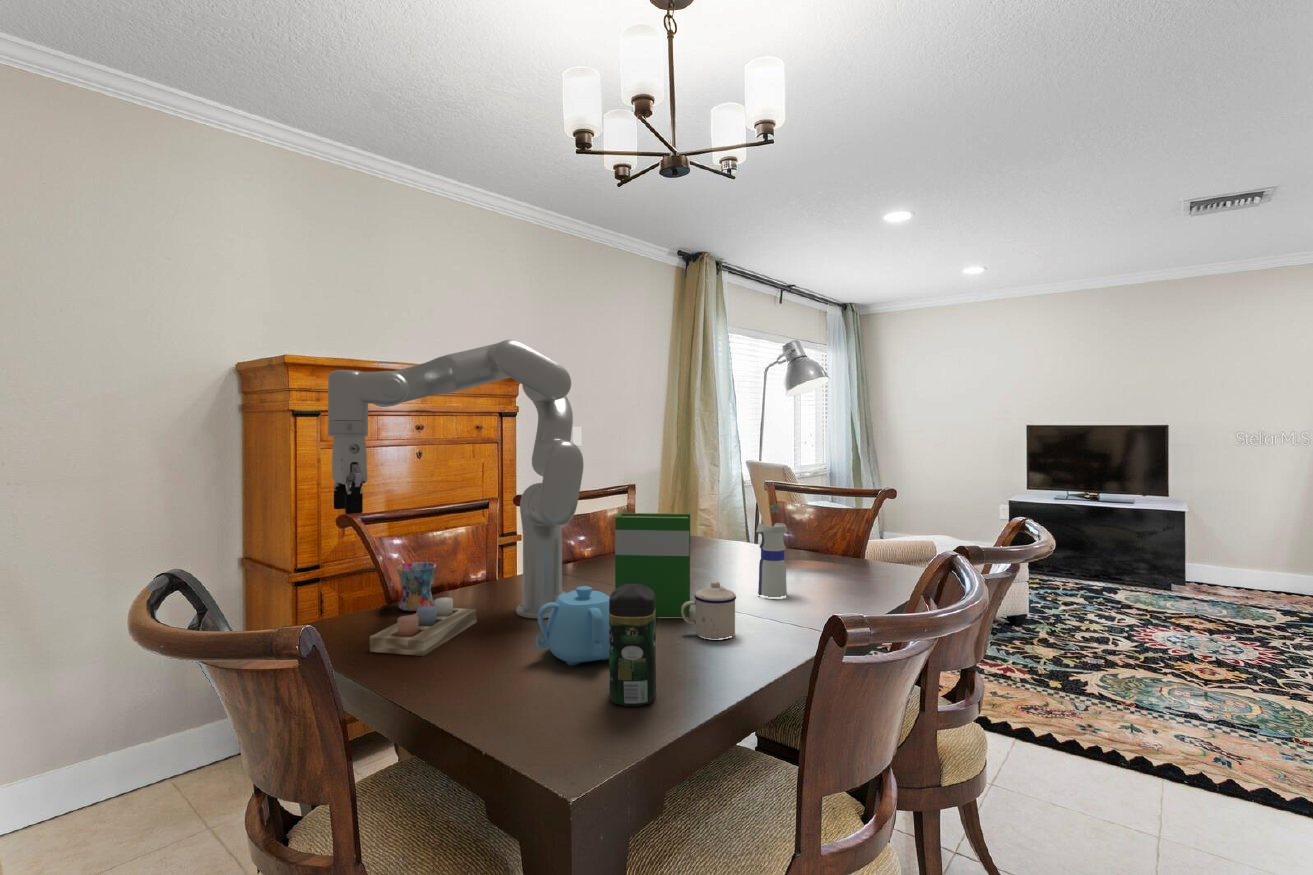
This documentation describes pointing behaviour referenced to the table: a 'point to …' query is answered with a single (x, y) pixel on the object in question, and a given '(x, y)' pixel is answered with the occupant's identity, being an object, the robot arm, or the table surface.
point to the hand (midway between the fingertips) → (347, 511)
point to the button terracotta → (408, 626)
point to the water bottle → (772, 559)
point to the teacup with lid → (713, 612)
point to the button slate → (426, 616)
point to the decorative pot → (577, 626)
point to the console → (423, 634)
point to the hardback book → (655, 557)
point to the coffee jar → (632, 645)
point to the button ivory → (444, 606)
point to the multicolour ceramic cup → (416, 585)
